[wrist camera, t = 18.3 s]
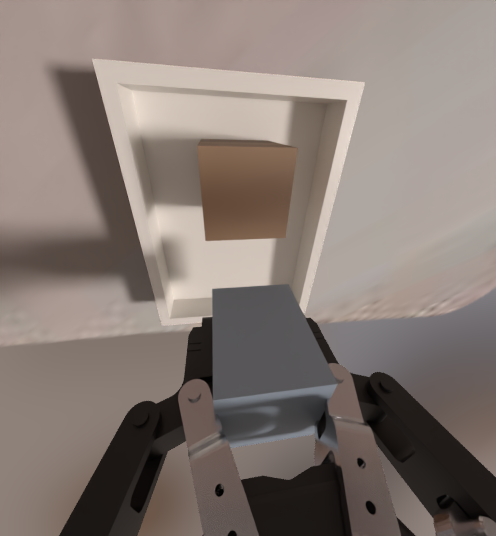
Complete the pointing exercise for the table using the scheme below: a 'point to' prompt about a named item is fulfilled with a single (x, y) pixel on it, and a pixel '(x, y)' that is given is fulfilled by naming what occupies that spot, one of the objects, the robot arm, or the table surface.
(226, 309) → the slate block
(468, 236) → the table surface
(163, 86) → the tray
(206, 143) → the walnut block
